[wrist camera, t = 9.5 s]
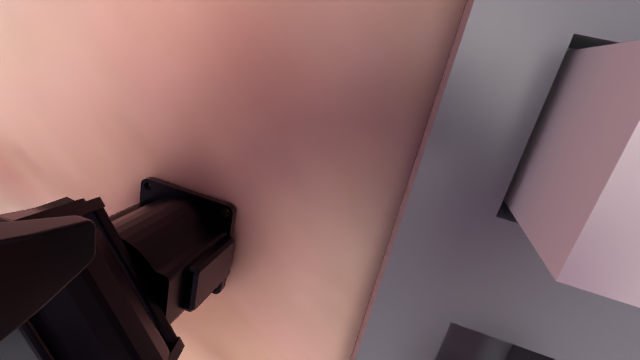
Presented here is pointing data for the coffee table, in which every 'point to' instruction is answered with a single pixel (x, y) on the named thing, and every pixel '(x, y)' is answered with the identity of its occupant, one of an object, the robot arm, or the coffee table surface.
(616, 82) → the pale pink plug
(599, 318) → the header
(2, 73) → the coffee table surface
